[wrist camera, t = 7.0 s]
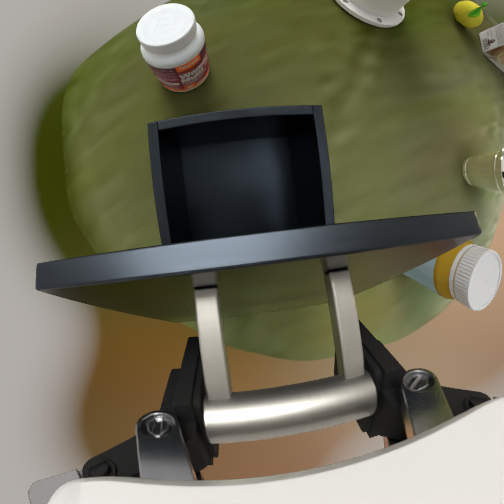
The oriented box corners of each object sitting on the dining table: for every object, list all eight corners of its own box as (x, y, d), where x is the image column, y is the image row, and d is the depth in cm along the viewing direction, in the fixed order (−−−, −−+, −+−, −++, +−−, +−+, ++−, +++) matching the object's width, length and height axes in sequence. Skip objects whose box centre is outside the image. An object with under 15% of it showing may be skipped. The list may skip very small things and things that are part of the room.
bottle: (388, 276, 35) (459, 323, 20) (388, 226, 33) (468, 252, 18) (426, 268, 35) (498, 305, 20) (427, 220, 33) (506, 241, 19)
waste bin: (174, 143, 29) (147, 123, 19) (293, 130, 30) (321, 104, 19) (192, 276, 33) (175, 315, 22) (305, 261, 33) (337, 294, 23)
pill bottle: (194, 100, 28) (176, 59, 17) (150, 84, 27) (116, 44, 16) (219, 59, 27) (214, 7, 16) (175, 45, 26) (155, -6, 15)
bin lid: (35, 262, 6) (56, 452, 5) (475, 210, 7) (503, 376, 5) (174, 312, 22) (182, 380, 20) (338, 291, 22) (348, 356, 21)
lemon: (462, 13, 25) (491, -2, 15) (472, 36, 26) (503, 22, 16) (440, 3, 25) (469, -16, 15) (451, 26, 26) (483, 9, 16)
